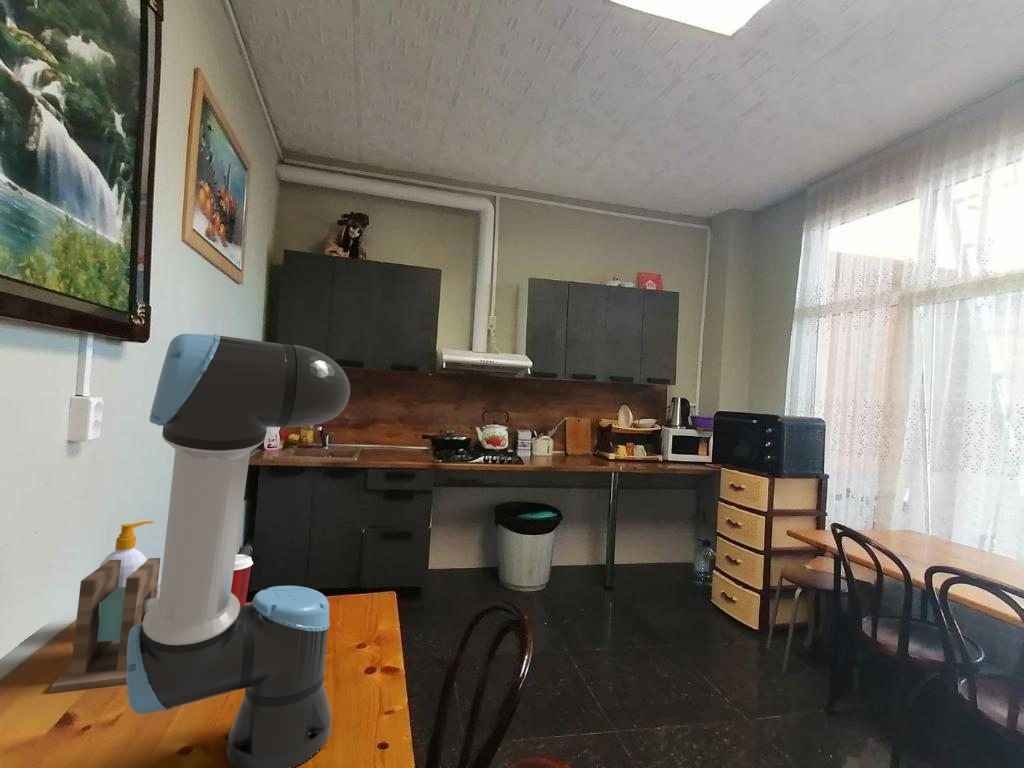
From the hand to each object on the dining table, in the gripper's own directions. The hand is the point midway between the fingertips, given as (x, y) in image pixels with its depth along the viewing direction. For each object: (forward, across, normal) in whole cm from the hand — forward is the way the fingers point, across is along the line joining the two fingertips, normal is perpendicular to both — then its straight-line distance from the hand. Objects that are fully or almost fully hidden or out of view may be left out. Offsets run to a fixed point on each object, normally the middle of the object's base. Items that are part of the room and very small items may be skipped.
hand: (188, 546), depth 99 cm
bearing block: (+22, 0, +8) cm, 24 cm away
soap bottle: (+23, +15, +15) cm, 31 cm away
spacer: (+16, 0, +11) cm, 20 cm away
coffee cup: (+23, +14, -7) cm, 27 cm away
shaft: (+15, 0, +6) cm, 16 cm away
